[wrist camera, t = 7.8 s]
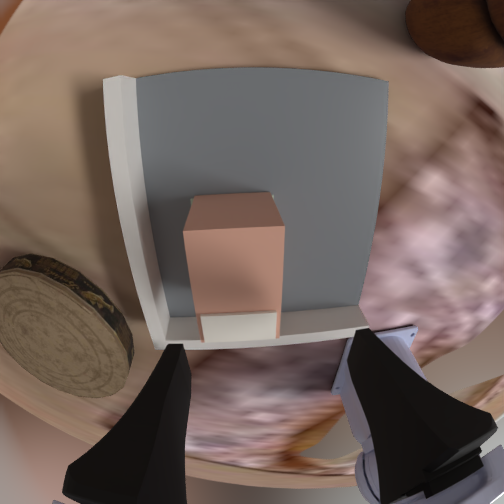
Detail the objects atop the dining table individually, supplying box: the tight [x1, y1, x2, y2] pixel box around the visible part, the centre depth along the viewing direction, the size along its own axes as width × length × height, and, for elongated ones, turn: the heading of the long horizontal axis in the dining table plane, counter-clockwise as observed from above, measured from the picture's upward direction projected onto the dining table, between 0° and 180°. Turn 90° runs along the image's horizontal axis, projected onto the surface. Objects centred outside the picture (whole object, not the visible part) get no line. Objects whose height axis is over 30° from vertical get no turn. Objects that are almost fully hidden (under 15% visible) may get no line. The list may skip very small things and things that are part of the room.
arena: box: [103, 68, 389, 350], centre depth 17 cm, size 18×16×3 cm
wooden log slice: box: [0, 254, 134, 398], centre depth 21 cm, size 16×16×3 cm
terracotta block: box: [183, 192, 285, 343], centre depth 16 cm, size 4×7×5 cm, turn 1°
